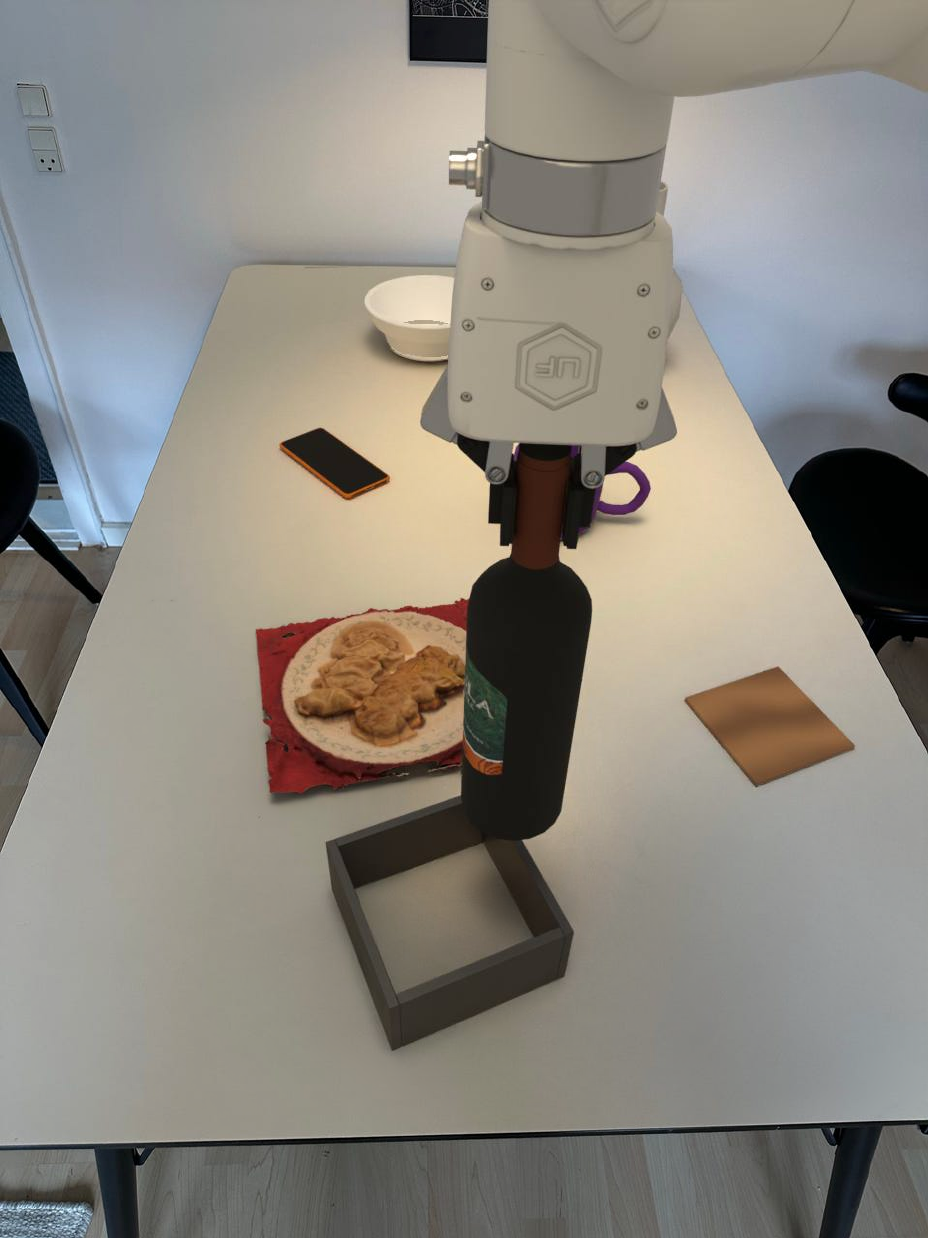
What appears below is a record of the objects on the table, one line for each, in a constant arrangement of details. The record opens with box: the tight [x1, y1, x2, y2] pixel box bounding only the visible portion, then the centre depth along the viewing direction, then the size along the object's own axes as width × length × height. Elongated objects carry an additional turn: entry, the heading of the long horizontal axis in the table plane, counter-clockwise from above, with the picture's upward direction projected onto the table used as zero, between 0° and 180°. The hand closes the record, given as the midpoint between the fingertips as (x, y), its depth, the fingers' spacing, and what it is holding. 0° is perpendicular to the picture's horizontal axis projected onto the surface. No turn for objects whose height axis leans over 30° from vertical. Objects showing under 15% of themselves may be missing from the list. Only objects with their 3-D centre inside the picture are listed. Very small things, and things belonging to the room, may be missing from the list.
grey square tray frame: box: [325, 794, 575, 1051], centre depth 72 cm, size 15×15×7 cm
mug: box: [513, 443, 652, 540], centre depth 113 cm, size 17×11×10 cm, turn 86°
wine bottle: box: [460, 443, 593, 841], centre depth 57 cm, size 8×8×30 cm
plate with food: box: [255, 597, 469, 794], centre depth 92 cm, size 24×26×3 cm
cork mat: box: [684, 666, 856, 787], centre depth 91 cm, size 12×12×1 cm
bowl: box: [363, 274, 454, 362], centre depth 150 cm, size 21×21×8 cm
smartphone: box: [278, 427, 391, 499], centre depth 125 cm, size 8×17×1 cm, turn 41°
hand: (537, 530), depth 51 cm, fingers closed on wine bottle, 2 cm apart
